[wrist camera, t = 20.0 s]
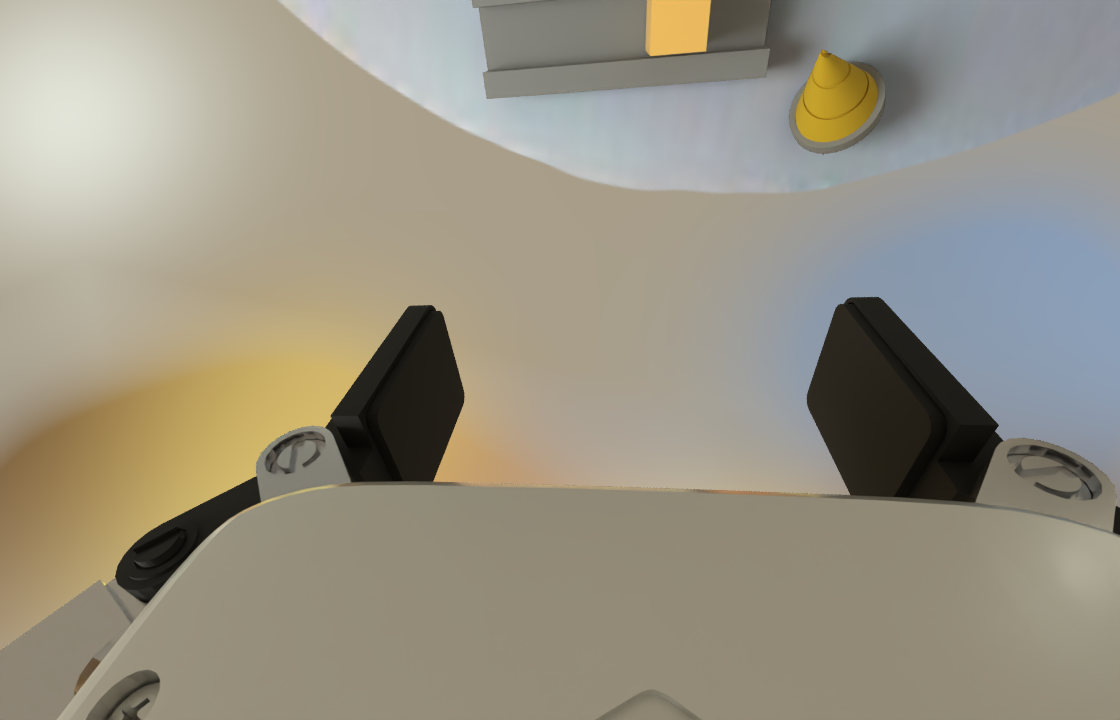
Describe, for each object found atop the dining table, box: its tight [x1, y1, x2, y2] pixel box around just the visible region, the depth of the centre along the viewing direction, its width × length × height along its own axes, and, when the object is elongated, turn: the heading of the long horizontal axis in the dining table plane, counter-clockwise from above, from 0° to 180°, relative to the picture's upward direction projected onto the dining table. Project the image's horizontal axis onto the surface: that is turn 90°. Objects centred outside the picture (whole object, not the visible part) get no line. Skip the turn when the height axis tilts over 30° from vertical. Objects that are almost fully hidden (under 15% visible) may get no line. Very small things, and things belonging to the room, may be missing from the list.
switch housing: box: [472, 0, 771, 99], centre depth 29 cm, size 18×6×3 cm, turn 94°
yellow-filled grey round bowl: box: [789, 50, 885, 154], centre depth 28 cm, size 5×5×10 cm
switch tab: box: [645, 0, 711, 56], centre depth 26 cm, size 3×3×5 cm
